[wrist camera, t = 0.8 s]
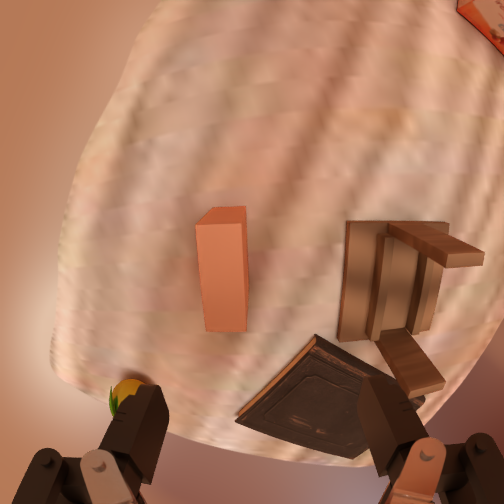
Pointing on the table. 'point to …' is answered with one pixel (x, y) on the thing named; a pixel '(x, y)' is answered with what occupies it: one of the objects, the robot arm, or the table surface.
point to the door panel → (223, 268)
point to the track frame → (398, 291)
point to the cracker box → (486, 18)
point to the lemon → (122, 393)
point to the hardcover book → (316, 401)
